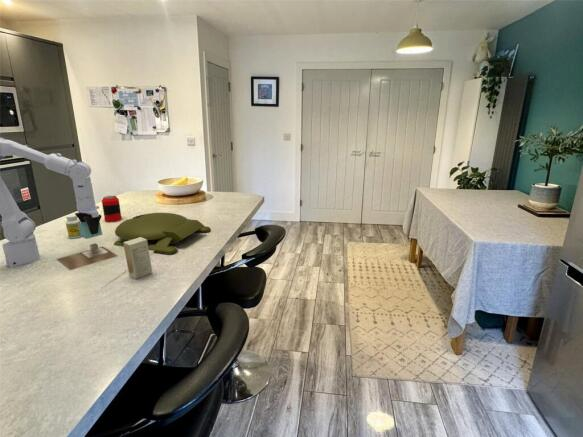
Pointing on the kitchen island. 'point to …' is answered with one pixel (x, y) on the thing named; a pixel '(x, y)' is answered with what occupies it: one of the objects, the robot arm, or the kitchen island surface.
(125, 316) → the kitchen island surface
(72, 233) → the supplement bottle
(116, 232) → the green turtle
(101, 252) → the board
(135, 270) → the skincare box
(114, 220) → the soda can
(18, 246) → the robot arm
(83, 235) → the knob
